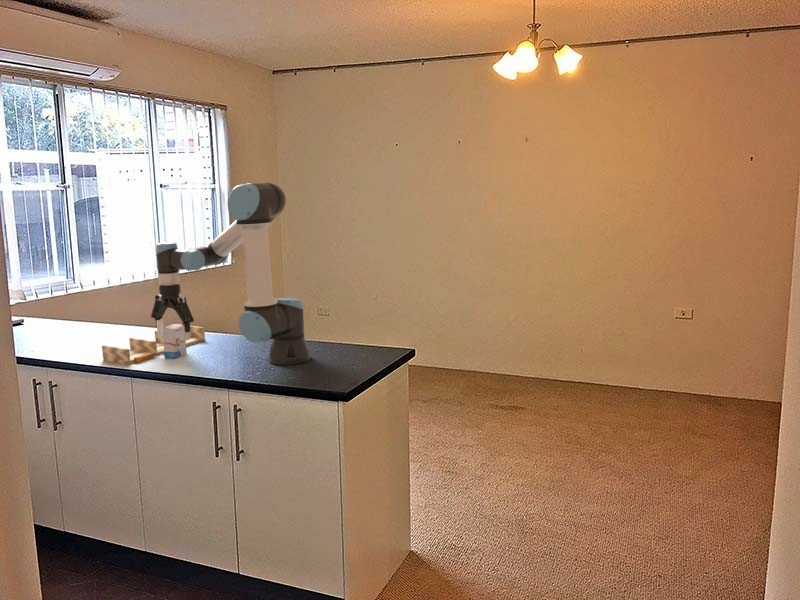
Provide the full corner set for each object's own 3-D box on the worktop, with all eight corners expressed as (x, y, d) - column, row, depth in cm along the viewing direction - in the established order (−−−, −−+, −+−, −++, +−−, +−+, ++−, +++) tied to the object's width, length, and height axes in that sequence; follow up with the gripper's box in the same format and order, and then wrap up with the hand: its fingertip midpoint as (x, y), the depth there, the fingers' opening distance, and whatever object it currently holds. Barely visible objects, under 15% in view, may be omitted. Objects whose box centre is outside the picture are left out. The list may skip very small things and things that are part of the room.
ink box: (176, 359, 254) (173, 328, 252) (164, 358, 255) (161, 328, 253) (187, 353, 262) (184, 323, 260) (175, 352, 263) (173, 323, 261)
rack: (208, 341, 280) (206, 327, 279) (131, 365, 247) (129, 350, 246) (181, 337, 288) (180, 324, 287) (103, 360, 255) (101, 345, 254)
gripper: (201, 284, 251) (204, 339, 255) (154, 279, 263) (158, 332, 267) (185, 287, 244) (189, 344, 248) (138, 282, 256) (143, 336, 260)
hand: (173, 338), depth 258 cm, fingers open, 13 cm apart
